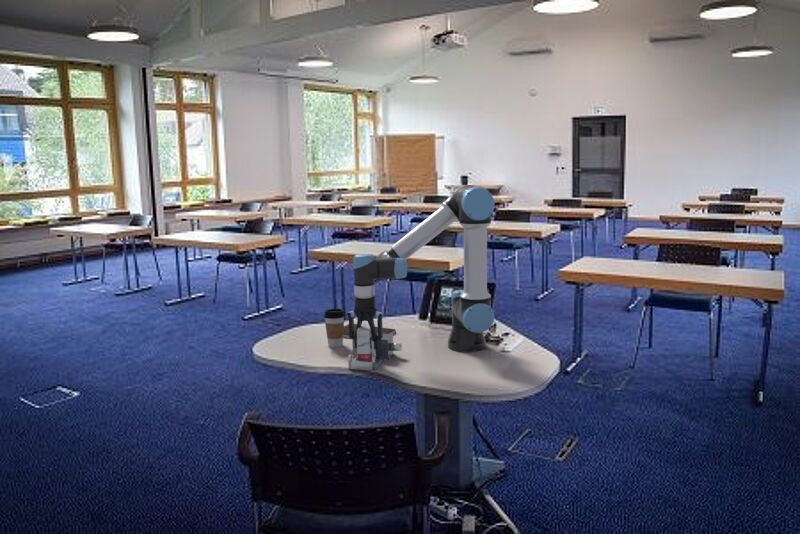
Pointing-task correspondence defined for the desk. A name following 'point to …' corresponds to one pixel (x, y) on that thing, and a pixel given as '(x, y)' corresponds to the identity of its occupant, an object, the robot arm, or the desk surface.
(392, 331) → the hardcover book
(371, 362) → the clip bracket
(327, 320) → the coffee cup
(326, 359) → the desk surface
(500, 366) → the desk surface
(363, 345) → the ink box
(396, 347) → the motor block
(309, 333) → the desk surface
